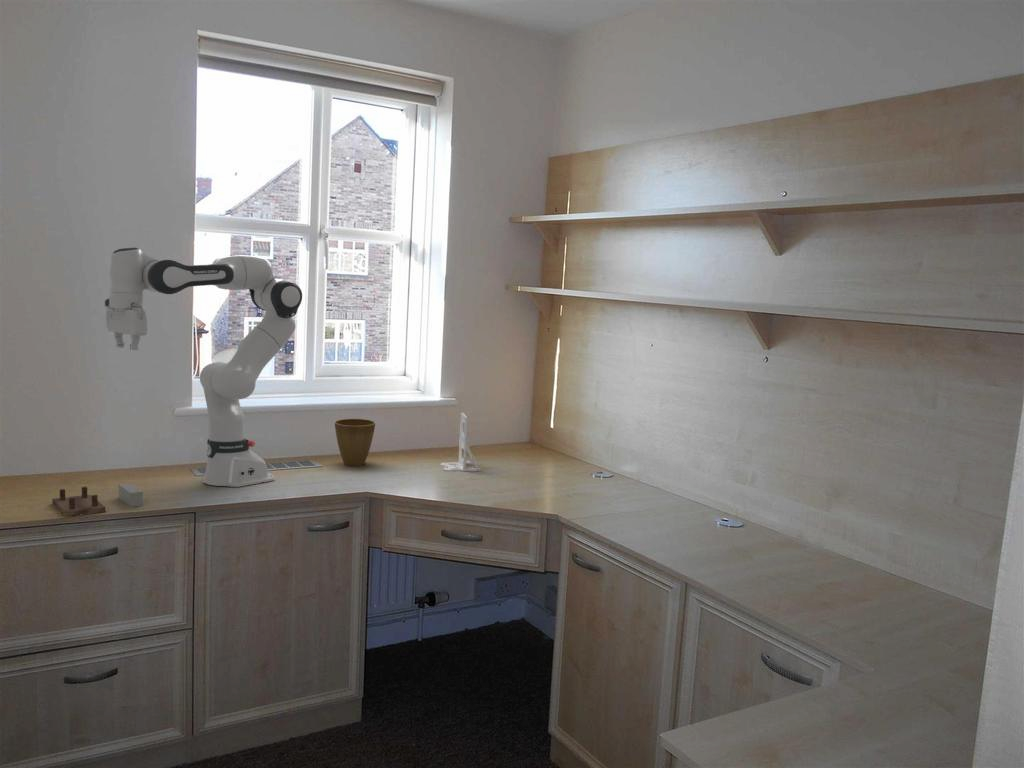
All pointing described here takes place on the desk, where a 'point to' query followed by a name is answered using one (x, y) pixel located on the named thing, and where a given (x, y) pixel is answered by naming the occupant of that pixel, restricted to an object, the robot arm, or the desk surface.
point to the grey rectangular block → (131, 494)
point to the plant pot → (354, 439)
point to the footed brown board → (78, 503)
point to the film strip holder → (464, 445)
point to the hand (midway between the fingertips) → (126, 348)
